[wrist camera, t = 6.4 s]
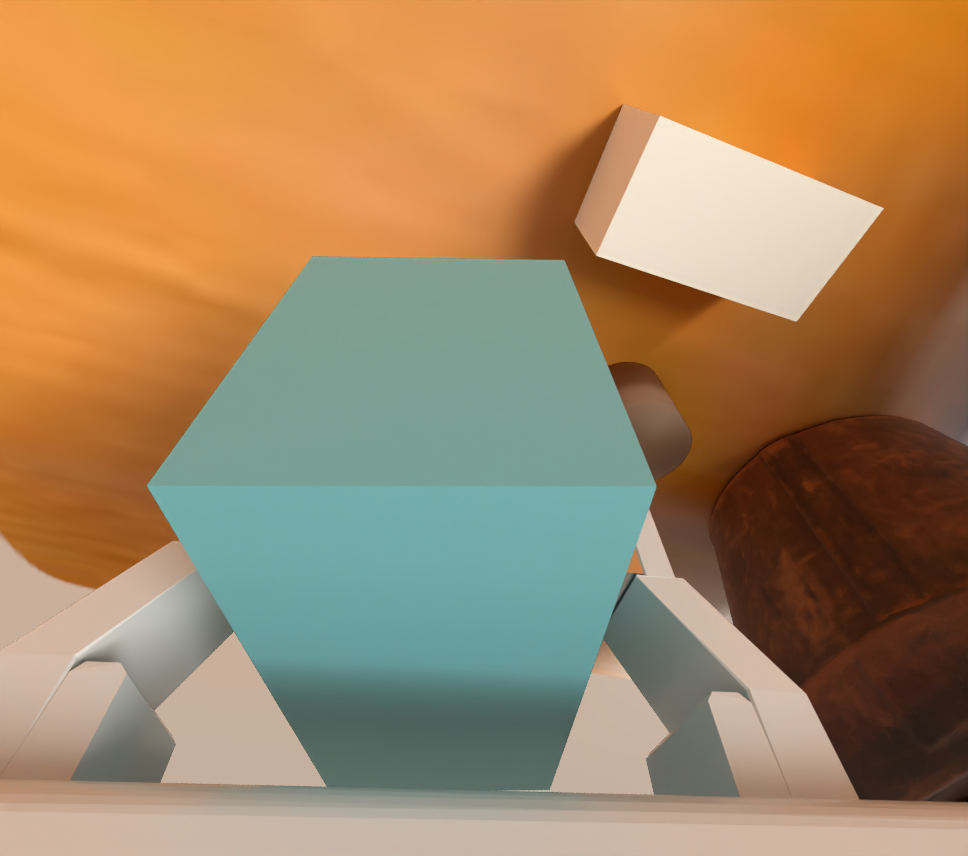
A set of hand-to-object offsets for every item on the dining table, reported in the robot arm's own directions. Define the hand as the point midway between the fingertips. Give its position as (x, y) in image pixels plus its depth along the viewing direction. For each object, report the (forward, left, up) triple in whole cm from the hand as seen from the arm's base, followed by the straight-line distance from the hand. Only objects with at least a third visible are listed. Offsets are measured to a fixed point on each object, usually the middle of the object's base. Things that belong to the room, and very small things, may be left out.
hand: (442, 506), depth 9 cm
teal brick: (0, 0, -2) cm, 2 cm away
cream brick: (-3, +9, -13) cm, 16 cm away
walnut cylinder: (+6, +9, -13) cm, 17 cm away
